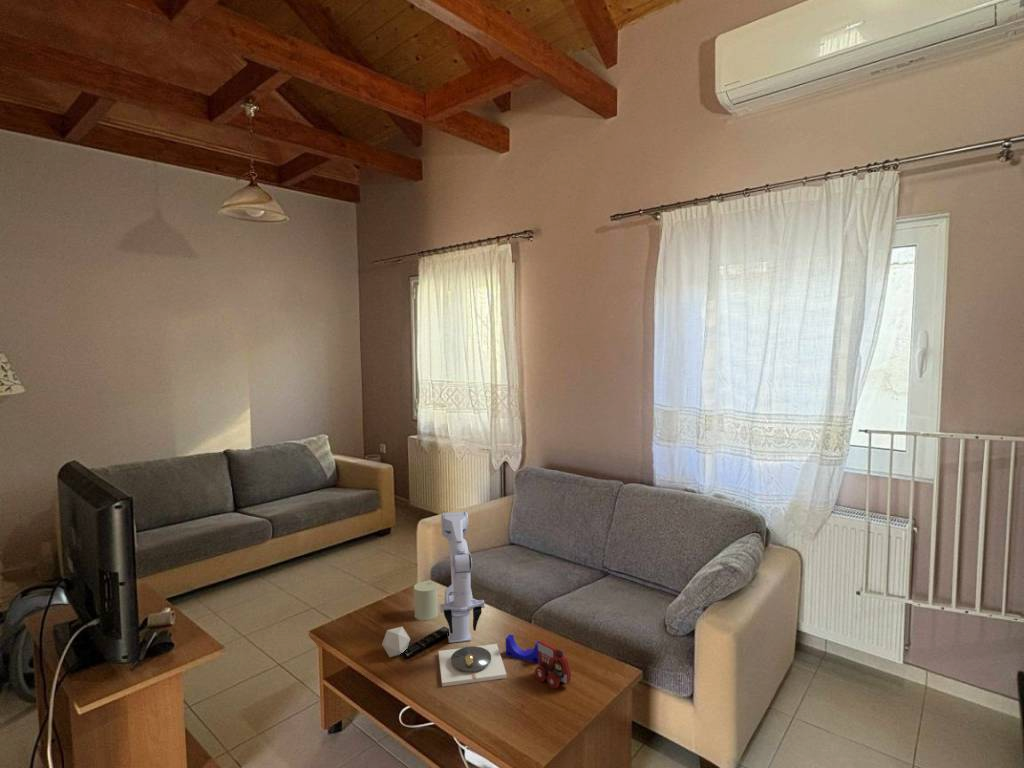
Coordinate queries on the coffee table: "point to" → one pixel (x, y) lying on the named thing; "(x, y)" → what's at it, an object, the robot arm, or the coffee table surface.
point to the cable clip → (521, 651)
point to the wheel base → (462, 677)
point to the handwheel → (471, 659)
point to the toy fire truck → (552, 665)
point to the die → (395, 641)
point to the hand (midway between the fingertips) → (462, 630)
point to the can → (426, 600)
